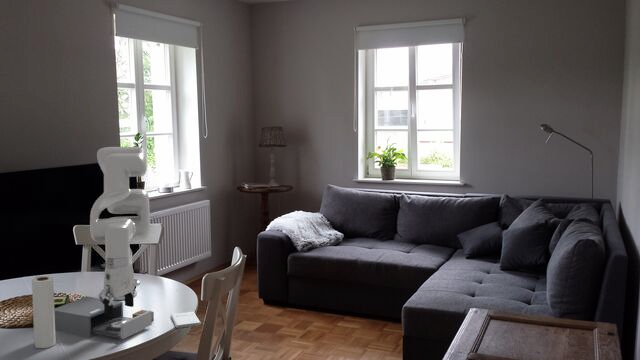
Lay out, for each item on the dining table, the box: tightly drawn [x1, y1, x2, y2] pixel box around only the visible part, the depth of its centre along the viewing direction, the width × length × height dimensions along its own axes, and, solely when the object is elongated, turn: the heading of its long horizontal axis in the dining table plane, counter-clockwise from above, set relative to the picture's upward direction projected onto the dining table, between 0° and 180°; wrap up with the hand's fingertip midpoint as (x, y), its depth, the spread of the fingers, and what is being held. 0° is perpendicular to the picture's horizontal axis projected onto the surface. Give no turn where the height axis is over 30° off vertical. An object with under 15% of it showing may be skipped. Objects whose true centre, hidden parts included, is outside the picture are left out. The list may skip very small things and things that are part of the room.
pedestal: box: [131, 309, 155, 323], centre depth 205 cm, size 5×5×4 cm
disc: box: [109, 317, 131, 330], centre depth 196 cm, size 7×7×2 cm
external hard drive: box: [170, 311, 202, 329], centre depth 208 cm, size 2×8×12 cm
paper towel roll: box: [31, 275, 57, 349], centre depth 184 cm, size 7×6×21 cm
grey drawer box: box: [54, 296, 124, 338], centre depth 201 cm, size 16×16×7 cm
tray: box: [91, 310, 153, 340], centre depth 197 cm, size 14×17×5 cm
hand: (119, 310), depth 197 cm, fingers open, 9 cm apart
